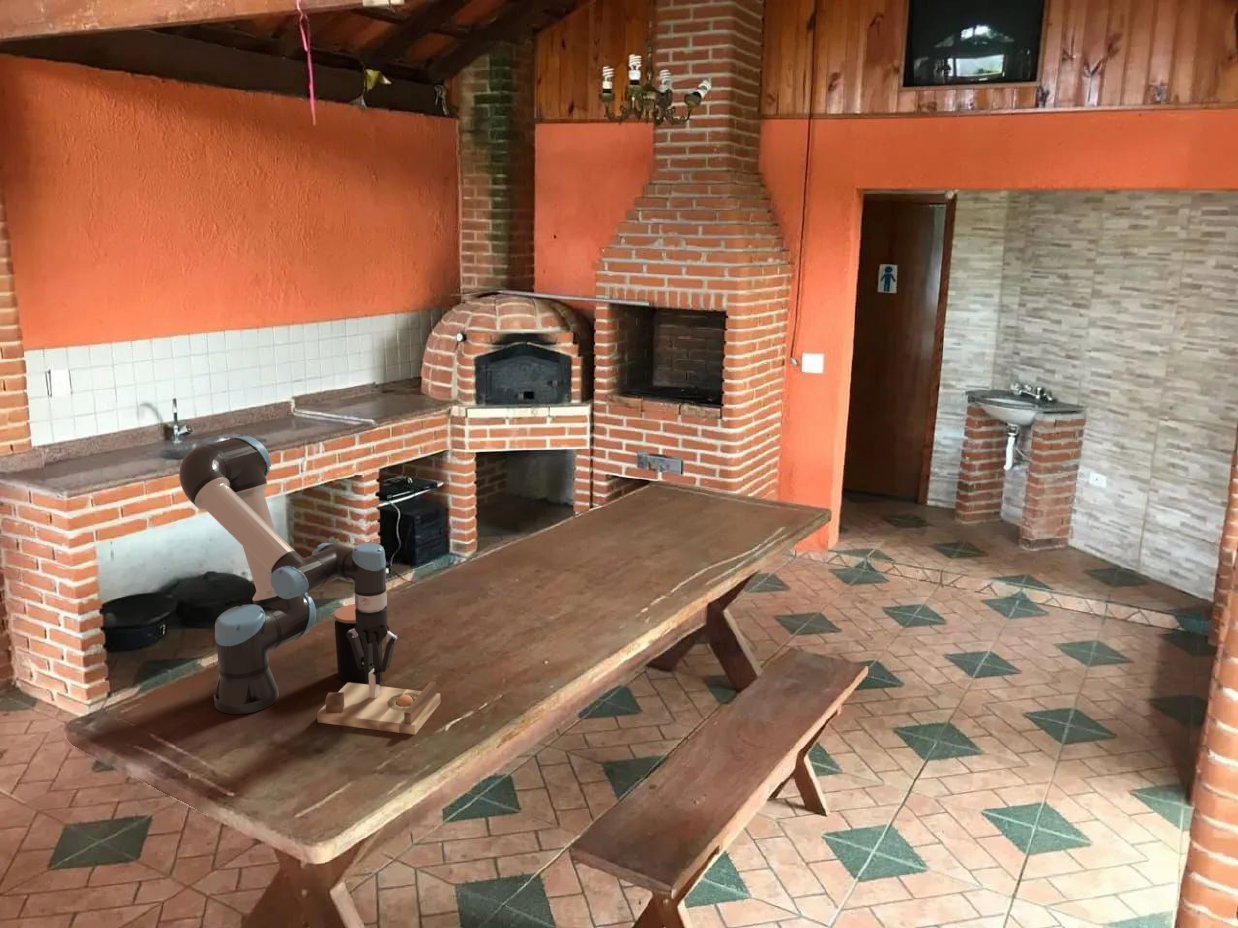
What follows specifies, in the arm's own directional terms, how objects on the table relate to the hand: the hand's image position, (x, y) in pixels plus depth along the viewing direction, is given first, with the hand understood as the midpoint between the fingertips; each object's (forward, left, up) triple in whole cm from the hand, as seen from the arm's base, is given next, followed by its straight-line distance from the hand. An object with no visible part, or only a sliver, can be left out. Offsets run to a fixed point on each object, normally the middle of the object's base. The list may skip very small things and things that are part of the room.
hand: (374, 695), depth 250 cm
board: (+2, -2, -3) cm, 5 cm away
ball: (+8, 0, -1) cm, 8 cm away
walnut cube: (-7, -8, -1) cm, 10 cm away
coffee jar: (-12, +15, -3) cm, 19 cm away
